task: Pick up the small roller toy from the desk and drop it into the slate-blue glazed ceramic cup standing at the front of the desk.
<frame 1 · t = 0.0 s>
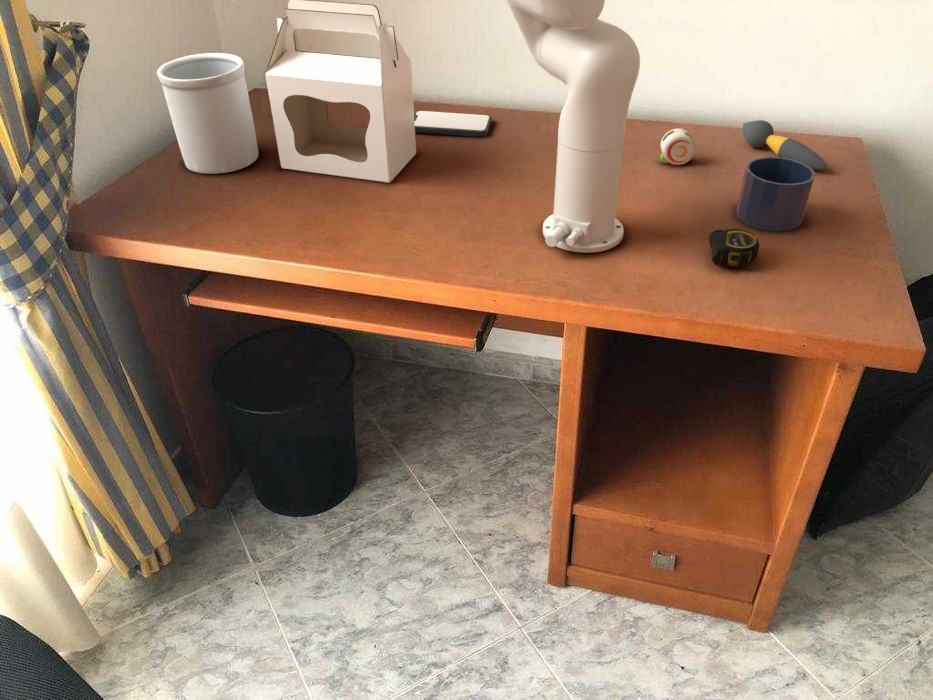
paintbrush: (779, 156, 145), on the table
roller toy: (675, 162, 144), on the table
utensil holder: (221, 160, 148), on the table
phone case: (450, 128, 158), on the table
tape measure: (726, 261, 116), on the table
gable box: (349, 162, 146), on the table
cup: (768, 216, 127), on the table
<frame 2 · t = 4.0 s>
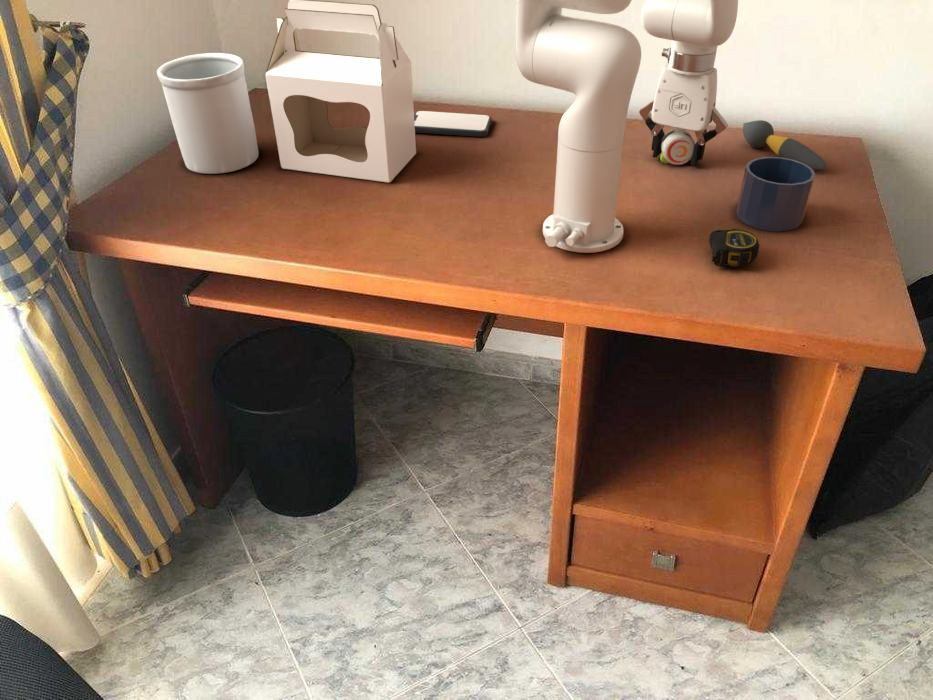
hand: (676, 158, 143), 1 cm above the table, tool pointing down, fingers closed on roller toy, 6 cm apart
roller toy: (675, 162, 144), on the table, touching gripper
everything else where it was.
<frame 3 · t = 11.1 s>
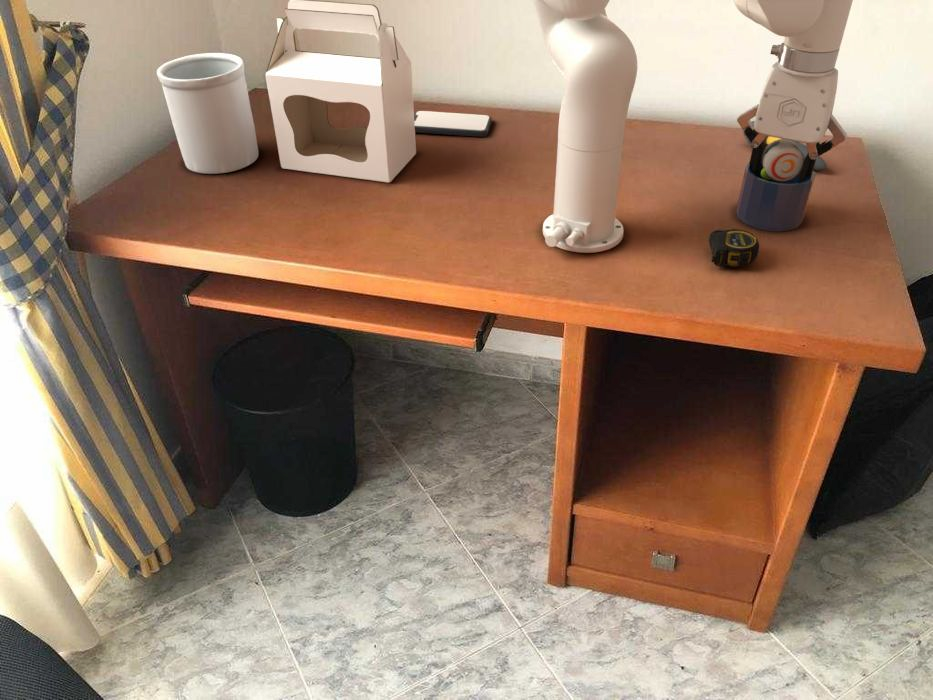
hand: (779, 173, 122), 7 cm above the table, tool pointing down, fingers closed on roller toy, 6 cm apart
roller toy: (777, 178, 123), point 7 cm above the table, touching gripper
everything else where it was.
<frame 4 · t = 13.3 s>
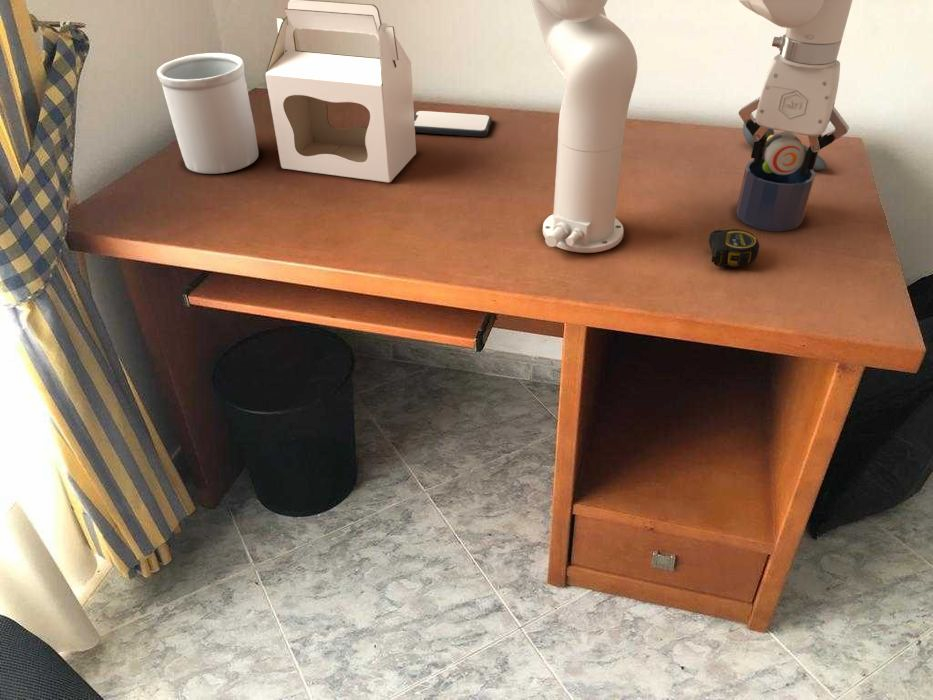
hand: (780, 167, 121), 9 cm above the table, tool pointing down, fingers closed on roller toy, 6 cm apart
roller toy: (779, 172, 122), point 8 cm above the table, touching gripper
everything else where it was.
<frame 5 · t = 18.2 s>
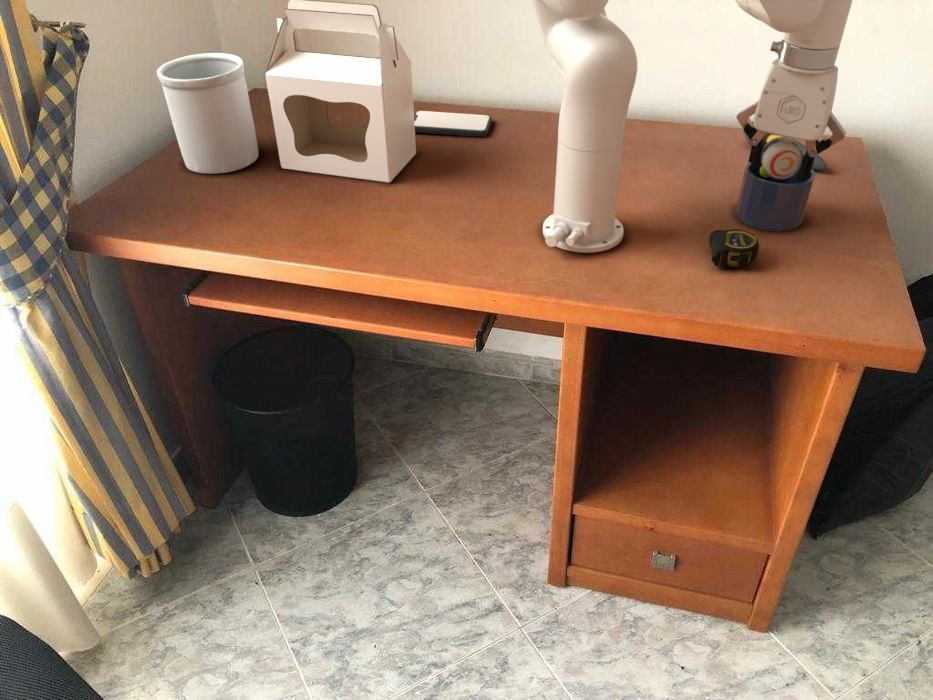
hand: (778, 171, 122), 8 cm above the table, tool pointing down, fingers closed on roller toy, 6 cm apart
roller toy: (776, 176, 122), point 7 cm above the table, touching gripper
everything else where it was.
when the fingers open (9 cm above the table, at t = 22.6 s): roller toy drops 7 cm, resting on cup.
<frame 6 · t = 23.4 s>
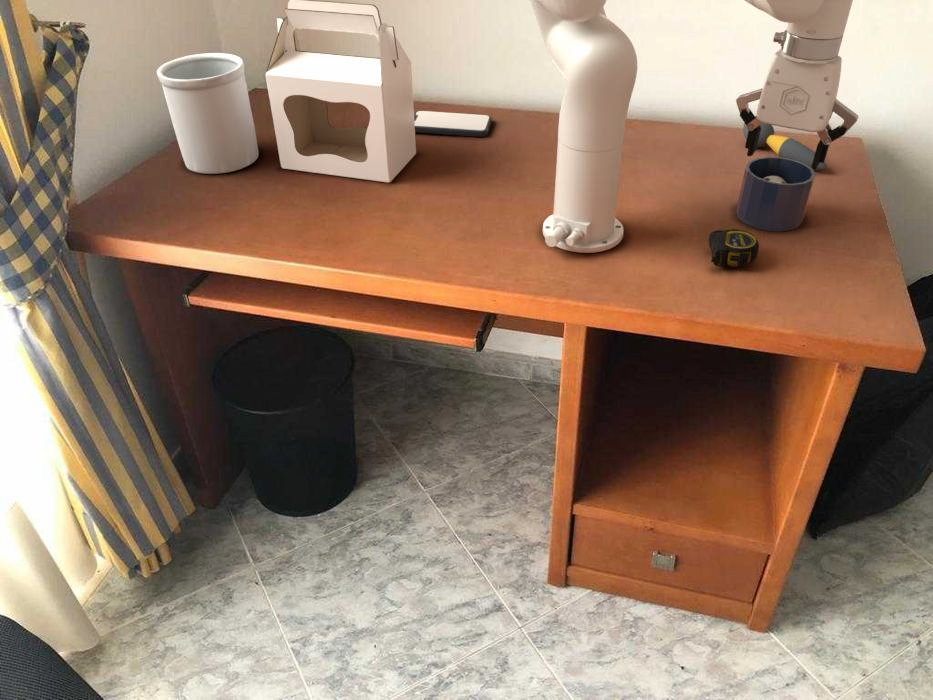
hand: (782, 159, 121), 10 cm above the table, tool pointing down, fingers open, 9 cm apart
roller toy: (767, 213, 127), resting on cup
everything else where it was.
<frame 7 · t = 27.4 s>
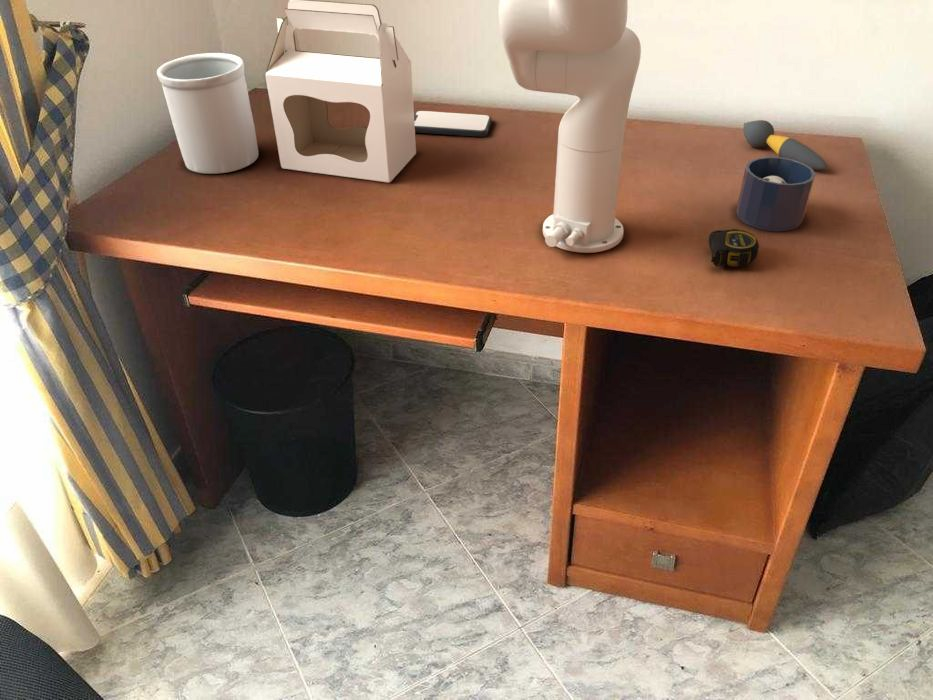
nothing on the table moved.
at the end: roller toy inside the target area in the cup (0.3 cm from its centre), point 0.4 cm above the cup's base; the gripper is holding nothing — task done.
